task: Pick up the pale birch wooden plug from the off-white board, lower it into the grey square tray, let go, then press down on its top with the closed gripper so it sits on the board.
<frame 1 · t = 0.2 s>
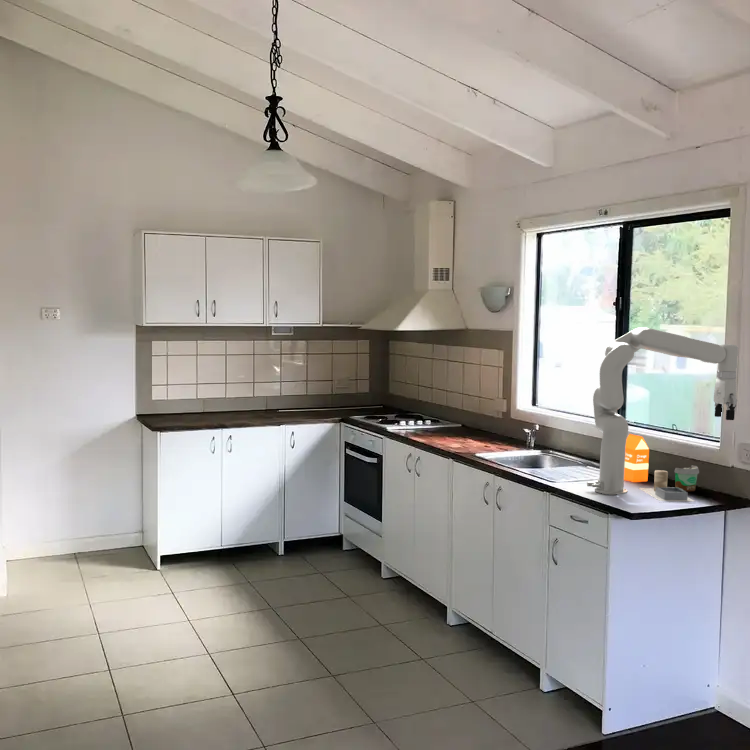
hand: (724, 418, 330), 31 cm above the worktop, tool pointing down, fingers open, 9 cm apart
food container: (688, 492, 335), on the worktop
orange juice: (633, 481, 354), on the worktop
board: (665, 496, 326), on the worktop
plug: (660, 491, 332), point 1 cm above the worktop, touching board
grey square tray: (670, 499, 321), resting on board
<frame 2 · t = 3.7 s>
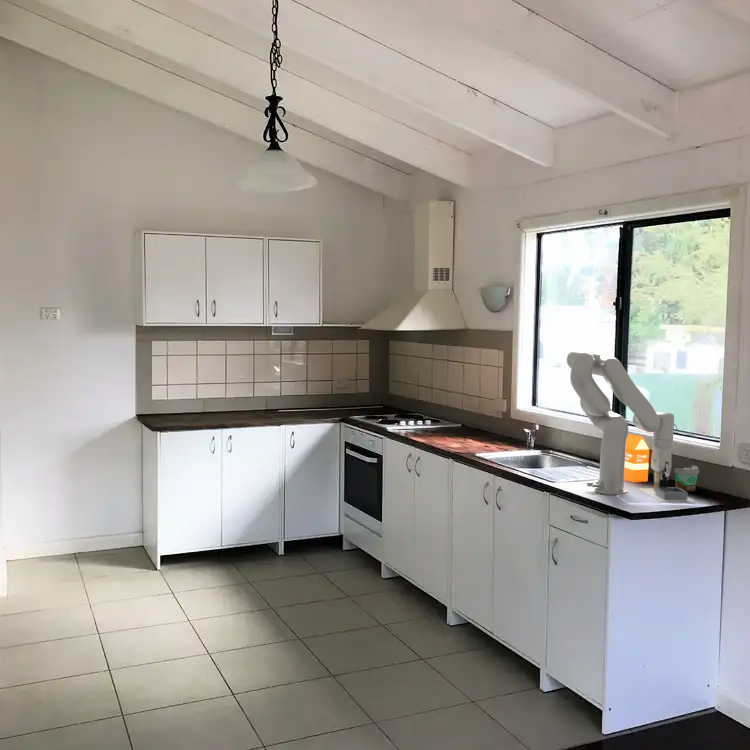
hand: (660, 487, 332), 2 cm above the worktop, tool pointing down, fingers closed on plug, 5 cm apart
plug: (660, 491, 332), point 1 cm above the worktop, touching board, gripper
everything else where it was.
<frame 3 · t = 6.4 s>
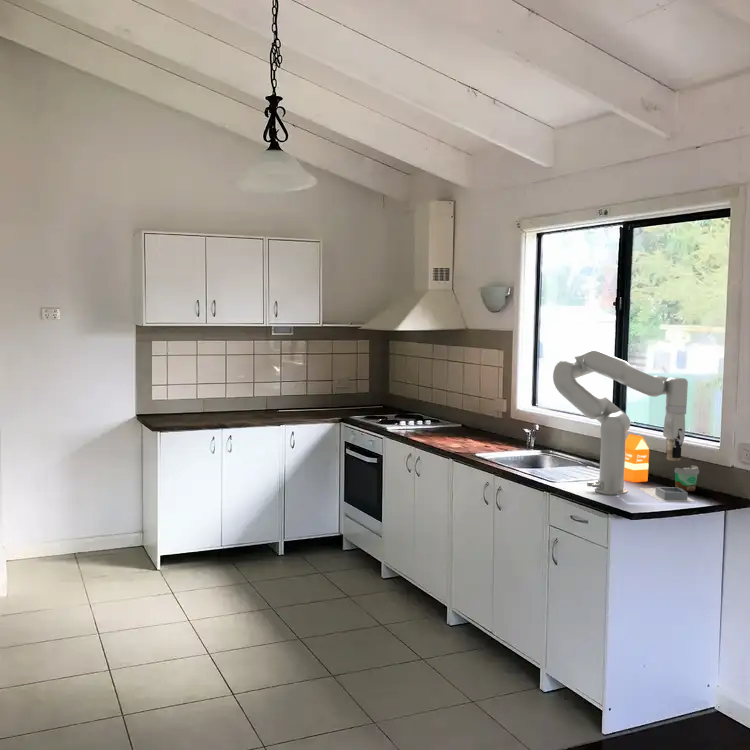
hand: (673, 456, 319), 17 cm above the worktop, tool pointing down, fingers closed on plug, 5 cm apart
plug: (673, 459, 320), point 16 cm above the worktop, touching gripper
everything else where it was.
when the fingers open (4 cm above the worktop, at t = 9.1 s): plug drops 2 cm, resting on board.
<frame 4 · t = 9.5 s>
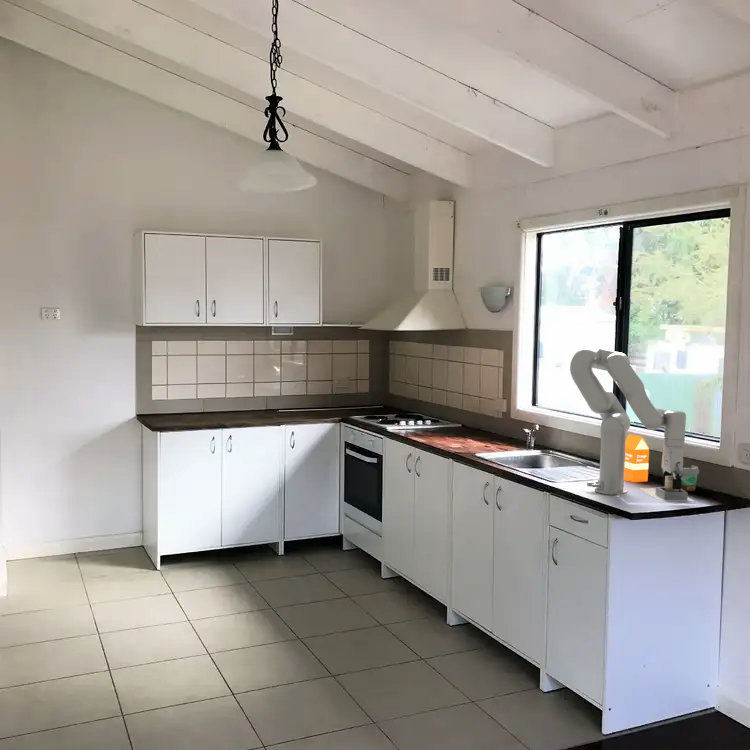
hand: (671, 486, 320), 5 cm above the worktop, tool pointing down, fingers open, 9 cm apart
plug: (671, 497, 321), point 1 cm above the worktop, touching board
everything else where it was.
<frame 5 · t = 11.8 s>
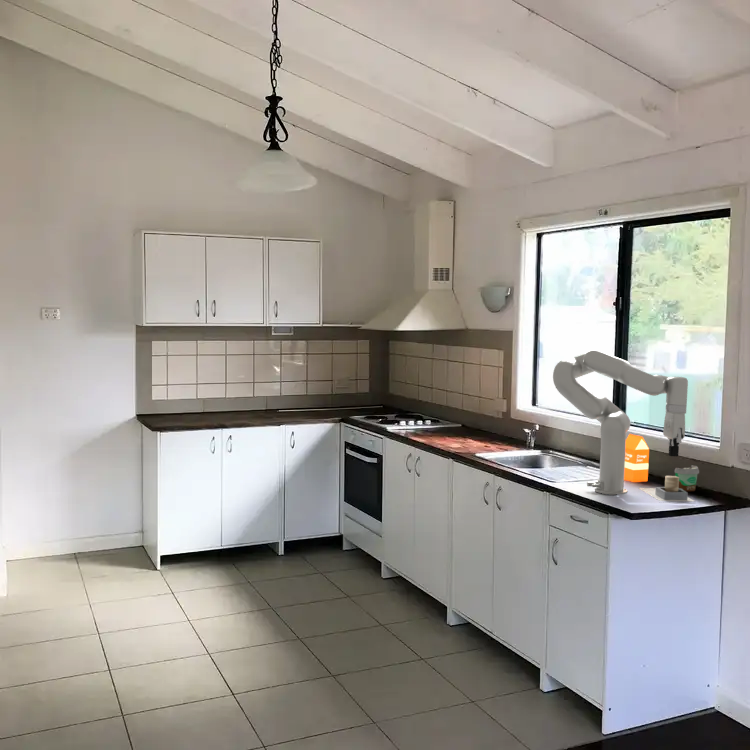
hand: (673, 455, 319), 17 cm above the worktop, tool pointing down, fingers closed
nothing on the worktop moved.
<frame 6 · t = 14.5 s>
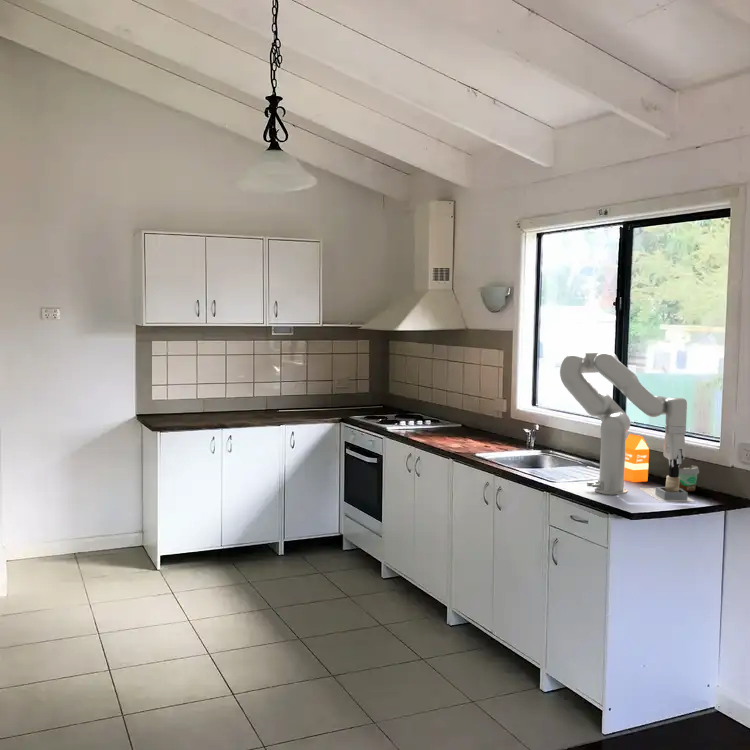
hand: (673, 476, 320), 9 cm above the worktop, tool pointing down, fingers closed
plug: (671, 497, 321), point 1 cm above the worktop, touching board, gripper
everything else where it was.
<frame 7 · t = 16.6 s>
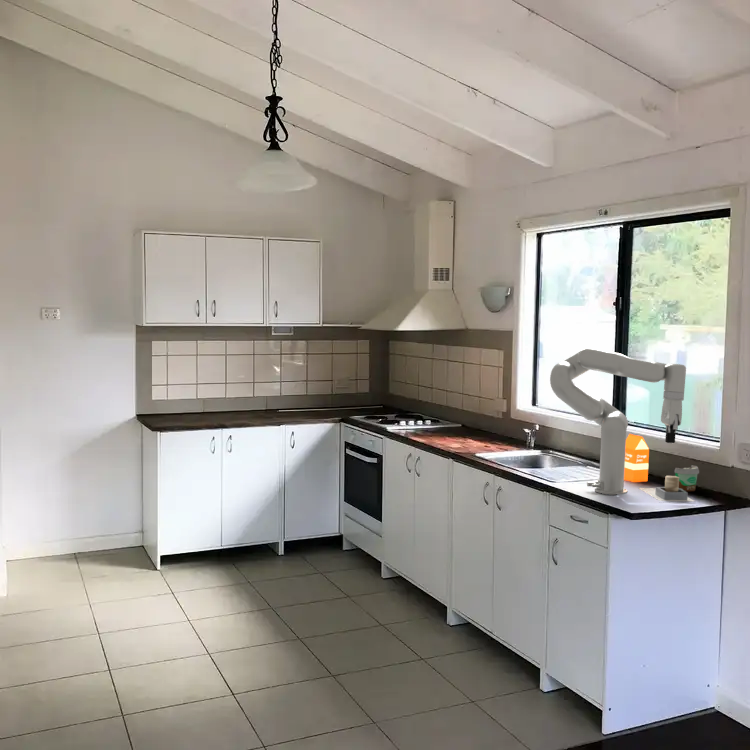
hand: (670, 442, 322), 22 cm above the worktop, tool pointing down, fingers closed
plug: (671, 497, 321), point 1 cm above the worktop, touching board
everything else where it was.
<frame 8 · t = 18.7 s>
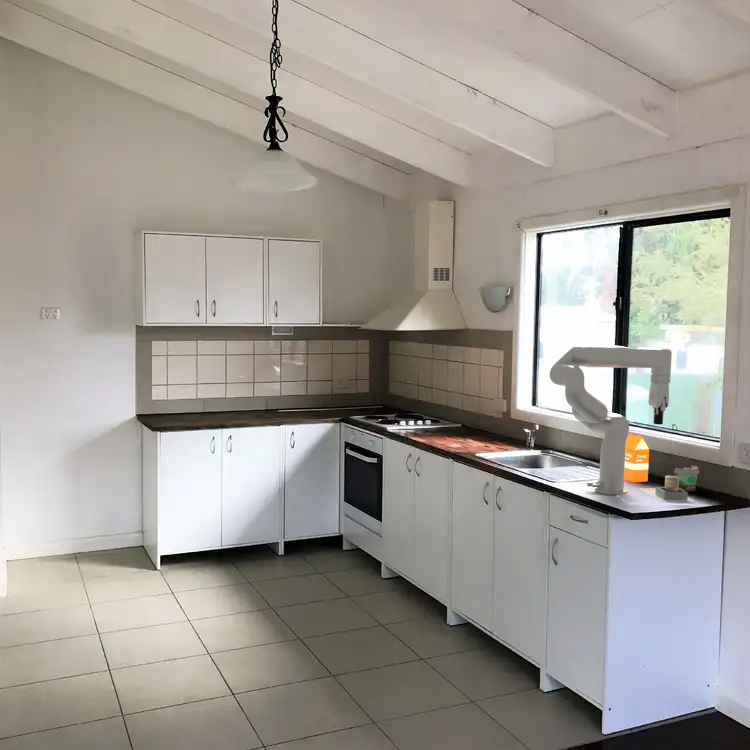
hand: (658, 424, 336), 27 cm above the worktop, tool pointing down, fingers closed
nothing on the worktop moved.
at the end: plug 0.0 cm off-centre on the grey square tray, point 0.8 cm above the grey square tray's base; plug tilted 1°; the gripper is holding nothing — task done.
